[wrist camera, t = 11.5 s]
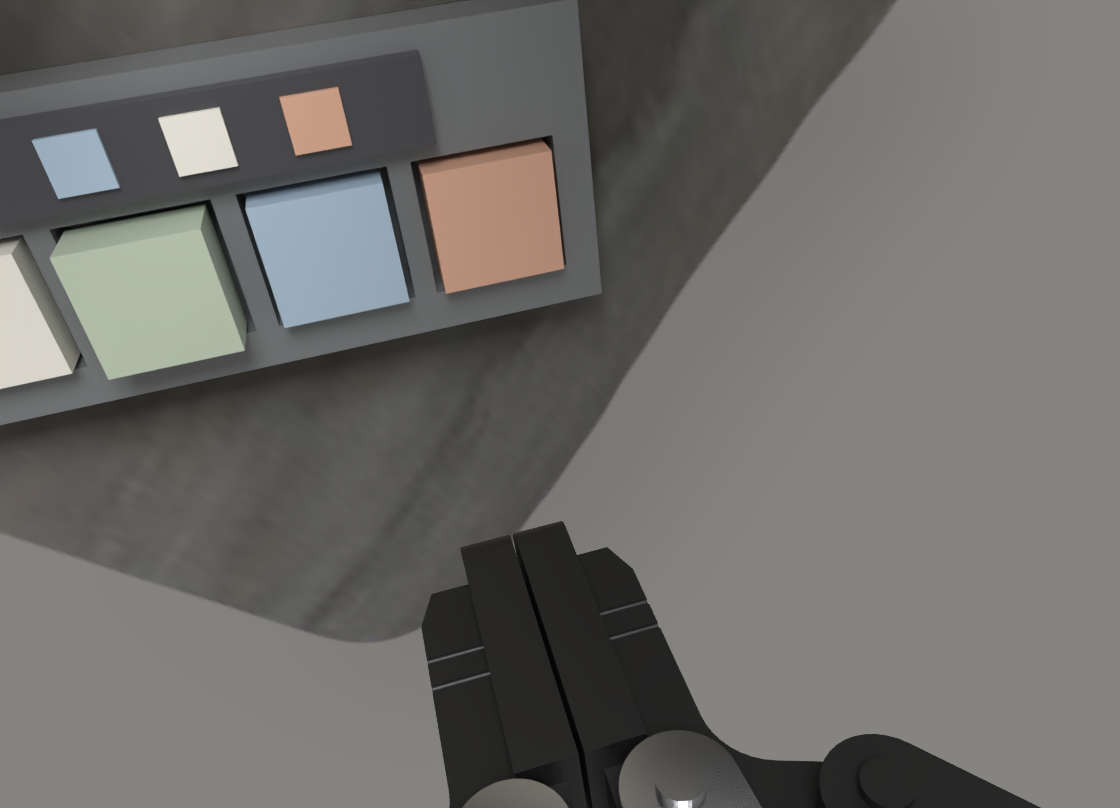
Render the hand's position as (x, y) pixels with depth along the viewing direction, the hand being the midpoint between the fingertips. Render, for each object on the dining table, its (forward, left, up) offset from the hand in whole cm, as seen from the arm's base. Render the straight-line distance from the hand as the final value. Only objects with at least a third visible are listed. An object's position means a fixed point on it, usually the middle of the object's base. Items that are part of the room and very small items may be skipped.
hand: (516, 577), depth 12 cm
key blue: (+5, -3, -25) cm, 26 cm away
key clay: (+5, +4, -26) cm, 26 cm away
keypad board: (+3, -6, -27) cm, 28 cm away
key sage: (+5, -9, -24) cm, 27 cm away
